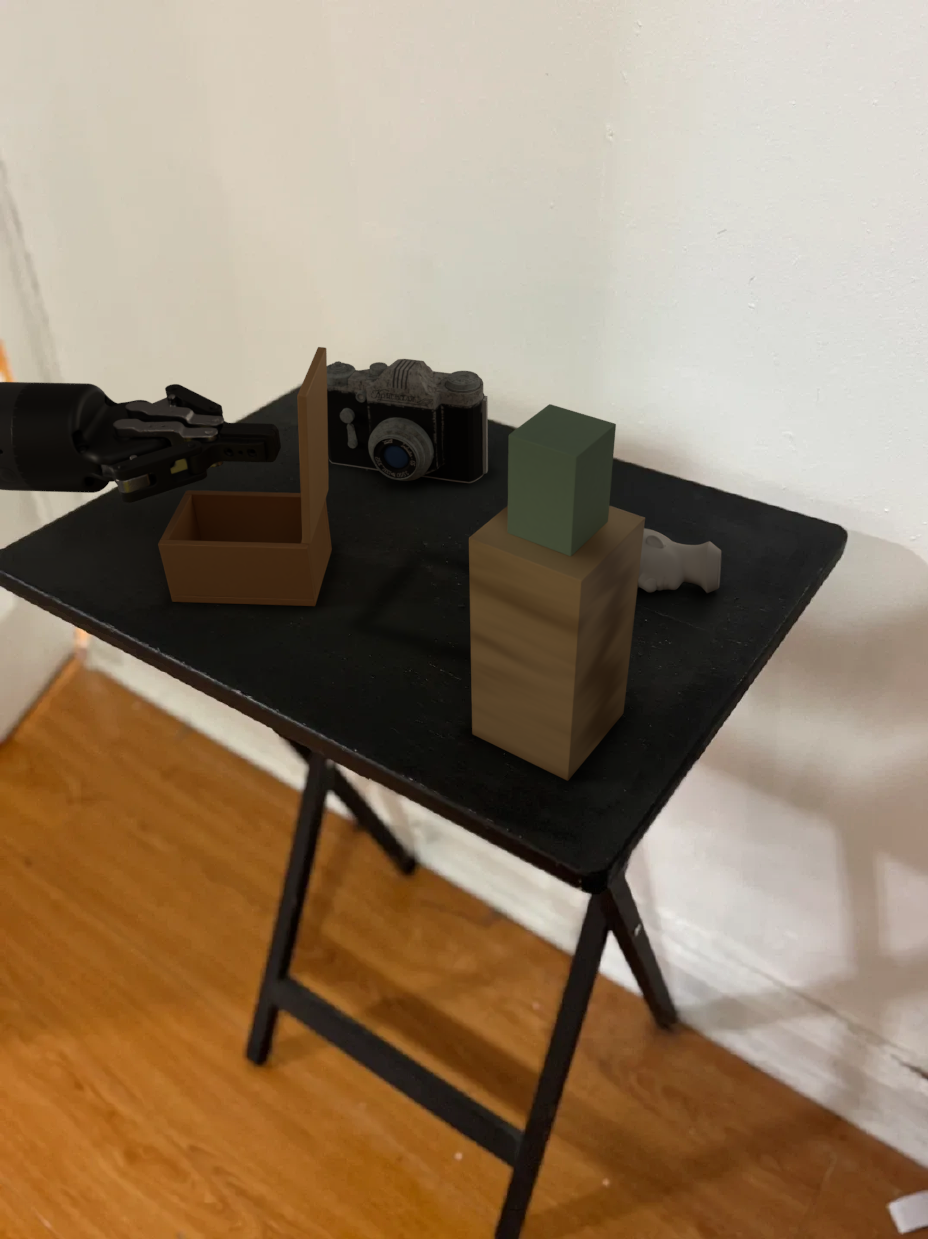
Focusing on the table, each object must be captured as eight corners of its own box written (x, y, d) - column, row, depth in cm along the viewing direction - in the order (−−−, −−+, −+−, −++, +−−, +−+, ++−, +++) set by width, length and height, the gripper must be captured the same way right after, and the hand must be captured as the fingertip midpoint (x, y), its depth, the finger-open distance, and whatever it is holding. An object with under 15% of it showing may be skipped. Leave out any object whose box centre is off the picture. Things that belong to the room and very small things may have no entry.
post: (568, 781, 62) (581, 581, 52) (471, 734, 65) (468, 537, 55) (623, 713, 66) (645, 517, 56) (531, 672, 69) (537, 480, 60)
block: (571, 557, 54) (576, 456, 50) (506, 533, 56) (508, 434, 52) (608, 521, 56) (616, 423, 52) (545, 500, 58) (549, 403, 54)
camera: (307, 480, 89) (292, 373, 83) (336, 442, 94) (325, 338, 88) (470, 504, 85) (469, 394, 79) (492, 464, 90) (492, 357, 84)
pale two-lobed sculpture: (604, 595, 77) (630, 545, 80) (707, 625, 74) (731, 572, 76) (600, 559, 74) (627, 508, 76) (707, 589, 71) (732, 535, 73)
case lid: (297, 395, 64) (306, 396, 64) (317, 346, 70) (326, 347, 70) (302, 543, 72) (310, 544, 72) (320, 488, 77) (328, 489, 77)
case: (172, 602, 76) (157, 544, 73) (198, 546, 81) (186, 490, 78) (315, 606, 75) (307, 548, 72) (331, 549, 81) (325, 493, 77)
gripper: (-26, 436, 64) (246, 442, 63) (55, 346, 75) (290, 350, 73) (10, 535, 69) (263, 543, 68) (81, 438, 79) (303, 443, 78)
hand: (277, 443), depth 71 cm, fingers closed
